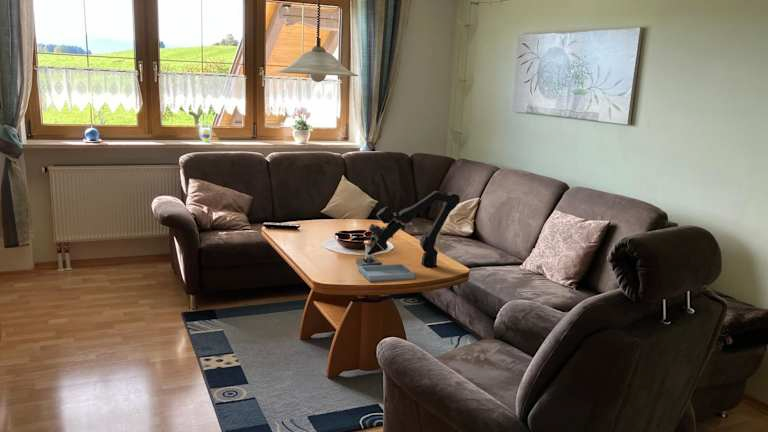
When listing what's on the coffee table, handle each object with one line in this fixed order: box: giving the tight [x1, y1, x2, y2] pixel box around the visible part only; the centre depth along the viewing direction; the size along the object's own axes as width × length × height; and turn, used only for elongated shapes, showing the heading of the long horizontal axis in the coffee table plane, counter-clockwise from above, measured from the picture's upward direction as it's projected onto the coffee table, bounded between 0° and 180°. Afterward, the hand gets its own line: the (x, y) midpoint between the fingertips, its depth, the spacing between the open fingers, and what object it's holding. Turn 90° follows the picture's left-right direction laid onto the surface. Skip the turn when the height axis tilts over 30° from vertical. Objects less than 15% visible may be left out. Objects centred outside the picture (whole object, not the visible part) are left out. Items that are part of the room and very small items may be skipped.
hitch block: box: [355, 256, 383, 267], centre depth 305 cm, size 10×10×2 cm
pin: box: [363, 239, 374, 262], centre depth 304 cm, size 6×6×12 cm
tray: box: [358, 263, 416, 283], centre depth 291 cm, size 22×16×3 cm
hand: (366, 251), depth 304 cm, fingers open, 9 cm apart
